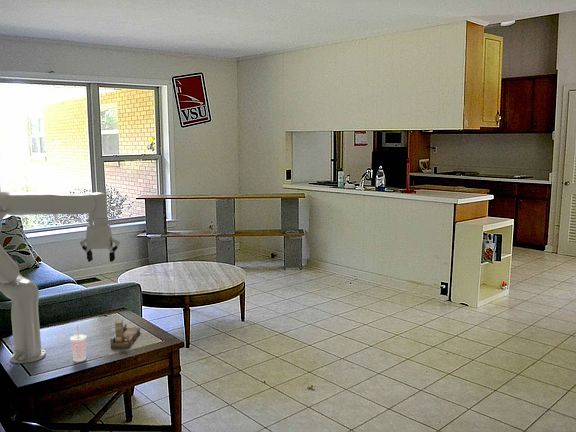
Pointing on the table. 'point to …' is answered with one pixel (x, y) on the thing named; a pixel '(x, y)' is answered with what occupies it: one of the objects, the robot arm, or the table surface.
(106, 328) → the table surface
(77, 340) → the beverage cup
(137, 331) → the wooden slotted block
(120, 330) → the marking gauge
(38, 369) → the table surface
